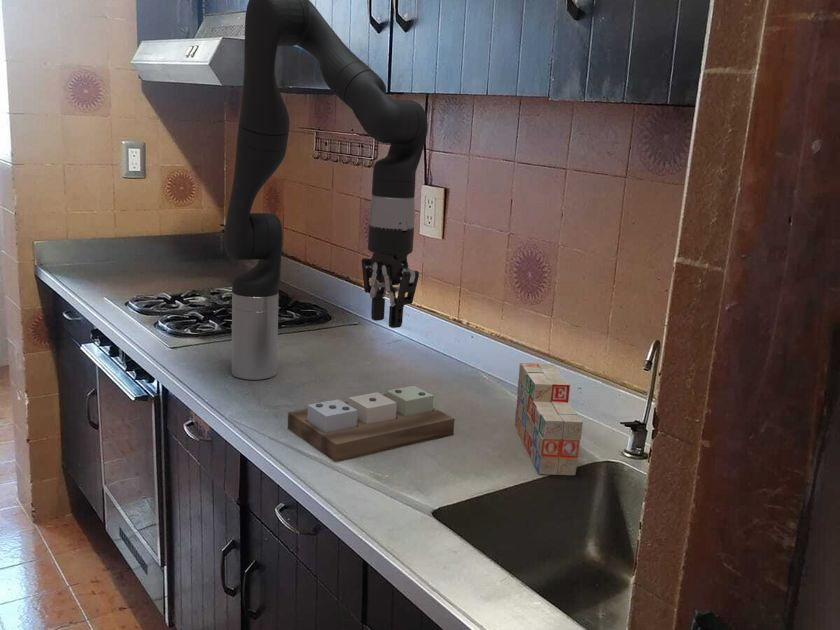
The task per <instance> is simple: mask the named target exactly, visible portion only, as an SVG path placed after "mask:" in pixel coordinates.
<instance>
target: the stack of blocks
mask: <svg viewBox="0 0 840 630" xmlns="http://www.w3.org/2000/svg"><path fill="white" fill-rule="evenodd" d="M517 382H518V383H517V394H516V395H517V399H516V410H515V418H514V419H515V421H514V426H515V429H516V431H517V434H518V436H519V438H520V441H521V443H522V445H523V446H524V448H525V449H526V451H527V453H528V454H529V457H530V460H531V462H532V464H533V466H534V469H535V470H536V472H537V475H552V476H554V475H555V476H557V475H558V476H576V474H577V466H578V458H579V452H580V444H581V439H582V433H583V426H584V425H583V423H584V422H583V420H582V418H581V417H579V415H578V413H577V412H576V410H575V409H574V408H573V406H572V405H571V404H570V403H569V399H570V387H571V385H570V383H569V382H568V380H566V379H565V378H564V376H563V375H562V373H561V372H560V371H559V370H558V368H557V367H556V366H555V364H554V363H534V362H533V363H532V362H520V363H519V369H518V381H517Z"/></svg>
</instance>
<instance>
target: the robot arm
mask: <svg viewBox="0 0 840 630" xmlns="http://www.w3.org/2000/svg"><path fill="white" fill-rule="evenodd" d="M245 11H246V12H245V18H244V55H243V56H244V59H243V61H244V65H243V67H244V68H243V69H244V70H243V84H242V93H241V94H242V96H241V105H240V113H239V118H238V128H237V135H236V136H237V137H236V147H235V148H236V149H235V150H236V151H235V161H234V172H233V181H232V187H231V192H230V197H229V203H228V208H227V213H226V218H225V225H224V233H223V242H224V244H223V245H224V250H225V253H226V255H227V256H228V257H229V258H230V259H232V260H236V261H244V260H245V261H246V260H247V261H248V260H249V261H250V260H251V261H253V260H257V263H256V264H255V266H253V267H252V268H251V269H249V270H247V271H245V272H243V273H241V274H238V275H236V276H234V278H233V279H232V283H231V309H232V310H231V375H232V376H233V377H236V378H239V379H242V380H251V381H252V380H257V381H258V380H266V379H270V378H273V377H275V376H276V375H277V373H278V343H279V341H278V336H279V335H278V334H279V332H278V330H279V293H280V292H279V289H280V287H279V286H280V281H281V273H282V272H281V270H282V269H281V268H282V267H281V266H282V254H283V240H284V237H283V236H284V235H283V234H284V233H283V225H282V222H281V220H280V218H279V216H278V215H277V214H275V213H271V212H251V211H252V207H253V204H254V202H255V199H256V197H257V195H258V194H259V192H260V190H261V189H262V188H263V186H264V185H265V184H266V183H267V181H269V179H270V178H271V177H272V176H273V174H274V173H276V171H277V170H278V168H279V166H281V164H282V162H283V161H284V160H285V156H286V153H287V148H288V147H287V146H288V141H289V133H290V116H289V115H290V114H289V111H288V110H287V106H286V103H285V101H284V98H283V96H282V94H281V92H280V89H279V86H278V84H277V81H276V80H277V79H276V59H277V51H278V47H294V46H297V47H299V48H301V49H303V50H305V51H306V52H307V53H309V54H311V55H312V56H313V57H314V58H315V59H316V60H317V62H318V64H319V68H320V73H321V76H322V78H323V81H324V82H325V84H326V86H327V87H328V88H329V89H330V90H331V92H332V93H333V94H334V95H336V97H338V98H339V100H341V101H342V102H343V103H344V104H345V105H346V106H348V107H349V109H351V110H352V112H353V114H354V116H355V119H357V121H358V122H359V124H360V125H361V127H362V129H363V130H364V131H365V133H366V134H367V135H368V136H369V137H371V138H372V139H373V140H375V141H376V142H378V143H382V144H387V145H389V149H388V152H387V155H386V156H385V157H382V158H381V159H379V160H377V161H376V162H375V163H374V165H373V169H372V182H371V183H372V185H371V198H370V204H369V214H368V215H369V216H368V231H367V233H368V236H367V250H368V251H369V252H371V253H372V256H371V257H365V258H364V257H363V258H362V259H361V269H362V272H361V273H362V280H363V290H364V292H365V293H366V294H367V293H368V294H369V297H370V298H369V299H371V312H370V313H371V320H373V321H375V322H377V321H383V320H384V318H385V308H386V307H385V306H386V298H385V296H386V294H388V296H389V303H390V305H389V310H388V312H389V313H388V314H389V315H388V327H389V328H391V329H396V328H397V329H398V328H401V327H402V324H403V321H404V320H403V318H404V306H405V305H412V304H413V302H414V299H415V293H416V290H417V287H418V286H417V285H418V283H419V282H418V280H419V277H420V273H419V271H418V270H412V269H411V268H409V263H408V256H409V255H410V254H411V253H412V252H413V251H414V240H415V239H414V236H415V234H414V233H415V220H416V215H415V214H416V205H415V203H416V202H415V197H416V195H415V194H416V193H415V192H416V191H415V190H416V179H417V178H416V175H417V170H418V166H419V165H420V161H421V158H422V155H423V151H424V147H425V144H426V140H427V136H428V131H429V130H428V127H429V126H428V125H429V123H428V117H427V113H426V110H425V108H424V107H423V106H422V105H421V104H420V103H419V102H418V101H415V100H412V99H411V100H410V99H401V98H392V97H390V96H389V95H388V94H387V86H386V84H385V82H384V80H383V79H382V78H381V77H380V76H379V74H377V73H376V72H375V71H374V70H373V69H372V68H371V67H369V66H368V64H366V63H365V62H364V61H363V60H361V58H359V57H358V56H357V55H356V54H355V53H354V52H353V51H351V49H350V48H348V46H347V45H346V44H345V43H344V42H343V40H342V39H341V38H340V37H339V35H338V34H337V33H336V32H335V31H334V30H333V28H332V27H331V25H330V24H329V23H328V22H327V20H326V19H325V18H324V17H323V15H322V14H321V13H320V11H319V10H318V9H317V8H316V6H315V5H314V4H313V2H312V1H311V0H248V2H247V5H246V9H245ZM396 293H398V294H397V295H396ZM406 293H407V294H406Z"/></svg>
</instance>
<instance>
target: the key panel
mask: <svg viewBox="0 0 840 630" xmlns="http://www.w3.org/2000/svg"><path fill="white" fill-rule="evenodd" d="M382 395H383V396H385V397H386V395H387V393H384V394H382ZM348 401H349V400H346V401H343V402H344V403H346V404H348ZM307 418H308V408H303V409H297V410H292V411H288V412H287V429H288V430H289V431H291V432H292V433H293V434H295V435H296V436H298V437H299V438H300V439H302V440H303V441H305V442H306V443H308V444H309V445H310V446H312V447H314V448H315V449H316V450H317V451H319V452H321V453H322V454H323V455H325V456H326V457H328V458H329V459H330V460H331V461H333V462H334V463H338V462H342V461H346V460H351V459H355V458H359V457H363V456H368V455H371V454H376V453H380V452H386V451H389V450H394V449H398V448H402V447H406V446H409V445H414V444H419V443H424V442H428V441H433V440H436V439H440V438H445V437H450V436H454V433H455V431H454V429H455V418H454V417H452V416H450V415H448V414H447V413H444V412H442V411H441V410H439V409H437V408H435V407H433V411H431V412H426V413H422V414H417V415H412V416H407V417H404V416H402V415H401V414H399V413H397V412H396V419H393V420H388V421H383V422H378V423H373V424H368V425H366V424H364V423H362V422H361V421H359V420H357V427H354V428H349V429H344V430H339V431H335V432H330V433H323V432H322V431H320V430H319V429H317V428H316V427H314V426H313V425H311V424H310V423H308V422H307Z"/></svg>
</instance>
